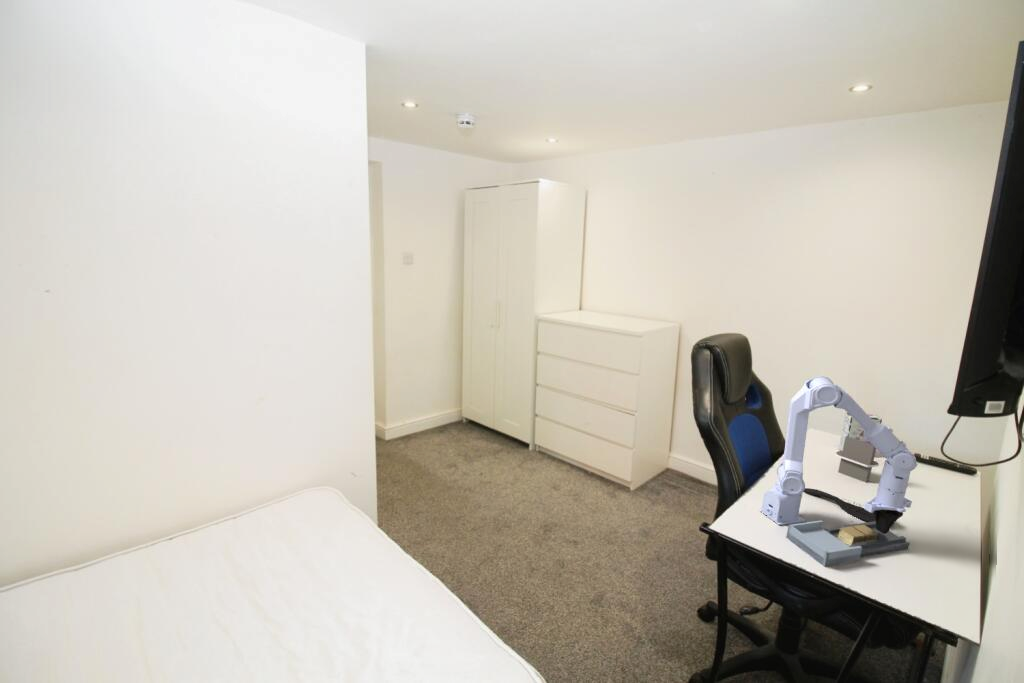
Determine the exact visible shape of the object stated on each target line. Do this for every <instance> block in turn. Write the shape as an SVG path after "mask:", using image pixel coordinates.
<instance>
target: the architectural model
mask: <svg viewBox="0 0 1024 683" xmlns="http://www.w3.org/2000/svg"><path fill="white" fill-rule="evenodd" d="M859 438H860V437H856V439H854V438H851V437H847V436H846V437H845V442H844V447H843V451H840V450H838V451H836V452H835V456H836V457H837V458H840V462H839V466H838V471H837V472H838V473H839V474H841V475H844V476H847V477H850V478H853V479H856V480H858V481H860V482H863V483H867V482H869V481H870V478H871V474H872V468H875V467H879V462H878V461H875V460H874V459H875V455H876V452H877V449H876V448H875V447H874V446H873V445H872V444H870V443H866V442H863V441H860V440H859Z"/></svg>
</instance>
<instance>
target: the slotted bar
mask: <svg viewBox="0 0 1024 683" xmlns="http://www.w3.org/2000/svg"><path fill="white" fill-rule="evenodd" d="M857 525H865V526H867V527H868V528H870V529H872V530H873V531H875V532H877V533H878V534H877V539H876V540H871V541H864V542H858V543H851V542H849V541H848V540H846V539H845V538H843V537H842V536H840V535H839V530H840V528H843V527H850V526H851V527H852V526H857ZM823 529H824V530H825V531H827V532H828V533H830V534H831V535H833V536H834V537H836V538H837V539H839V540H840V541H842V542H843V543H845V544H846V545H848V546H849V547H856V546H861V547H862V550H861V555H860V558H865V557H871V556H876V555H882V554H888V553H889V554H890V553H894V552H895V553H896V552H899V551H900V552H901V551H905V550H909V548H910V542H909V541H908V540H907V537H905V536H904V535H900V536H899V535H897V534H895V533H893V532H892V531H890V530H889V531H888V533H885V534H883V533H881V532H880V531H878V530H877V529H876V521H874V522H861V523H854V524H853V523H852V524H848V525H847V524H845V525H839V526H833V527H826V528H823Z"/></svg>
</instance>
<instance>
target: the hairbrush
mask: <svg viewBox="0 0 1024 683" xmlns="http://www.w3.org/2000/svg"><path fill="white" fill-rule="evenodd" d="M804 492H805V493H804ZM803 493H804V494H807V495H812V496H816V497H817V496H818V497H823V498H825V499H828V500H831V501H832V502H833V501H834V502H835V503H836V505H838V506H839V507H840V509H841V510H844V512H845V513H846V512H847V513H846V514H848V515H849V514H850V516H851V515H852V517H854V518H855V517H856V519H857V518H858V520H859V519H860V520H859V521H862V522H863V523H866V522H874V521H876V520H875V515H874V512H873V513H870V512H869V511H867V510H865V509H864V507H863V506H861V503H858V502H857V503H855V501H853V504H852V503H851V502H852V501H851V502H850V500H848V501H844V500H845V498H843V499H841V498H839V497H838V496H835V495H833V494H830V493H828V492H825V491H822V490H820V489H815V488H807V487H805V489H804V491H803Z"/></svg>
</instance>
